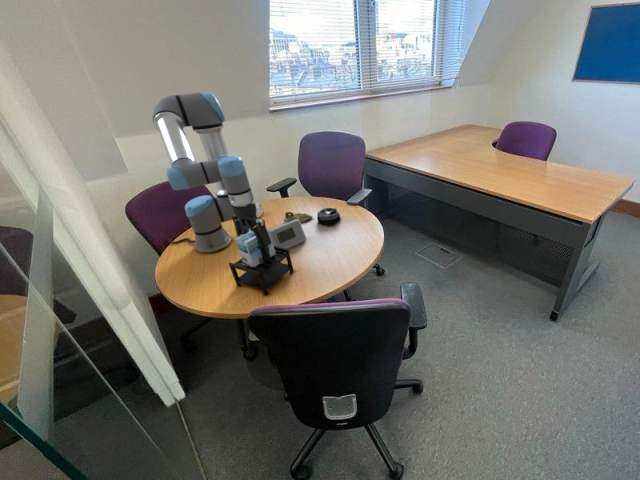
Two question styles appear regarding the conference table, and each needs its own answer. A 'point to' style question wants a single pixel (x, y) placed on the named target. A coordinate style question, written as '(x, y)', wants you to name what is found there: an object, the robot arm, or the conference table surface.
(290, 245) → the digital clock
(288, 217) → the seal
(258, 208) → the mineral specimen
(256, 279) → the rack
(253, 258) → the light bulb box
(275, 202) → the conference table surface
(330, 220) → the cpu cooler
